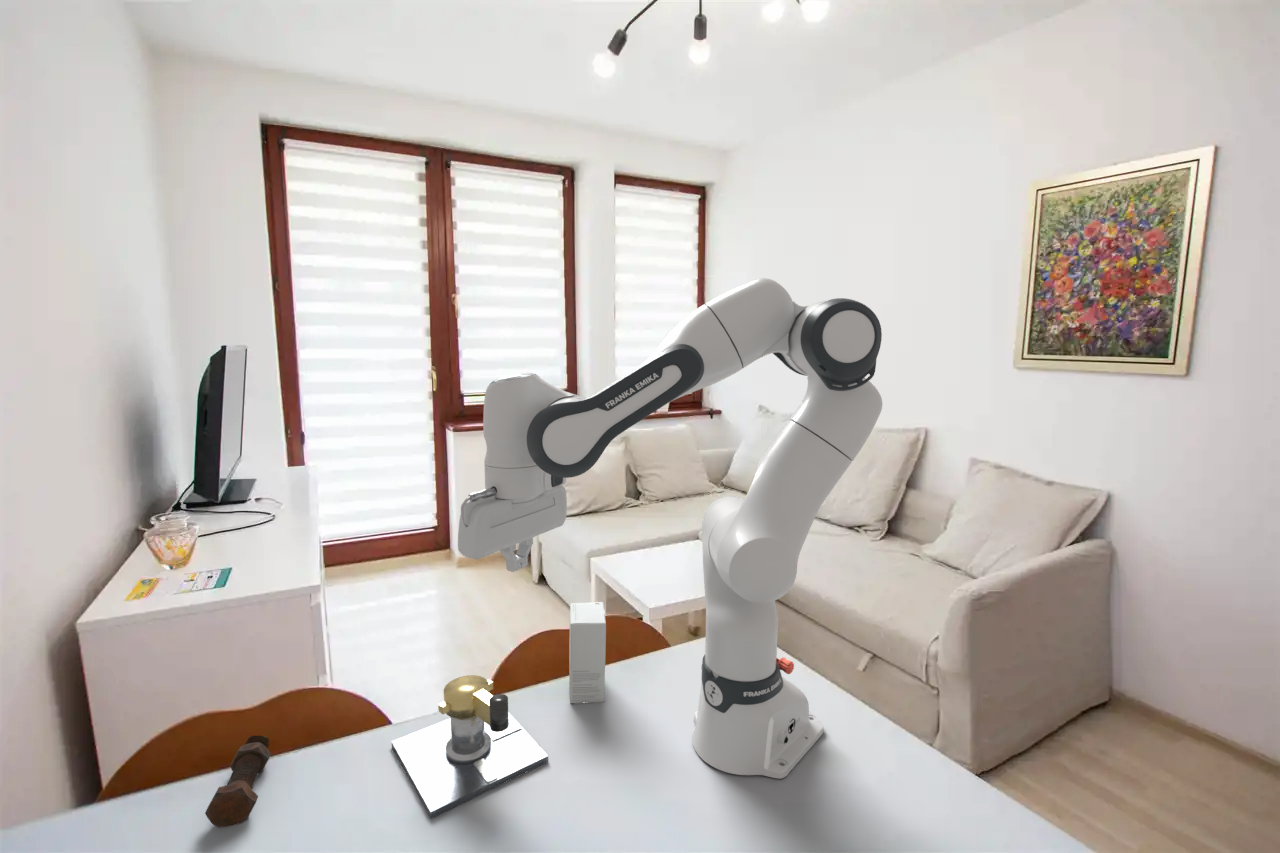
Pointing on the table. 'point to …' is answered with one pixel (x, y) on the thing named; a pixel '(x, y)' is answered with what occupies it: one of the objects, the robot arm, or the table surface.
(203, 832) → the table surface
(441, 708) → the brass faucet handle
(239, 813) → the bolt
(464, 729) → the slotted metal plate
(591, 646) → the skincare box
